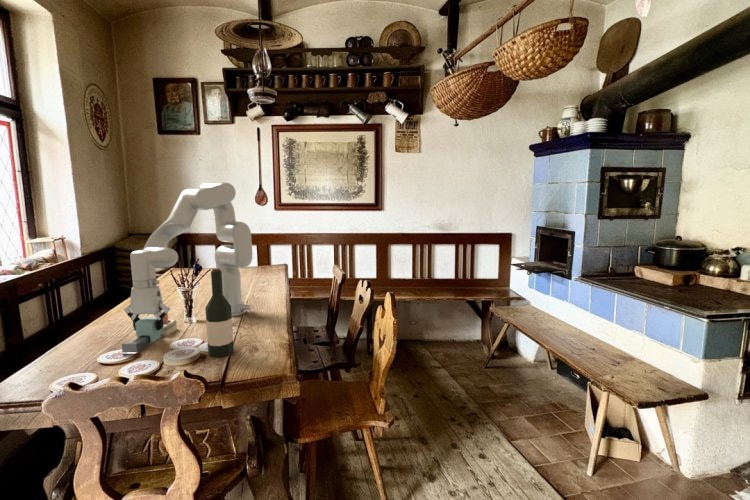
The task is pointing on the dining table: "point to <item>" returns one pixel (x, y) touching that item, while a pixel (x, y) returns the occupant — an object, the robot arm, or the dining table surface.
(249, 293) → the dining table surface
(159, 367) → the dining table surface
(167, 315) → the orange clay brick
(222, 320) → the wine bottle
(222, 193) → the robot arm
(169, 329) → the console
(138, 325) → the carriage
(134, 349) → the rail
